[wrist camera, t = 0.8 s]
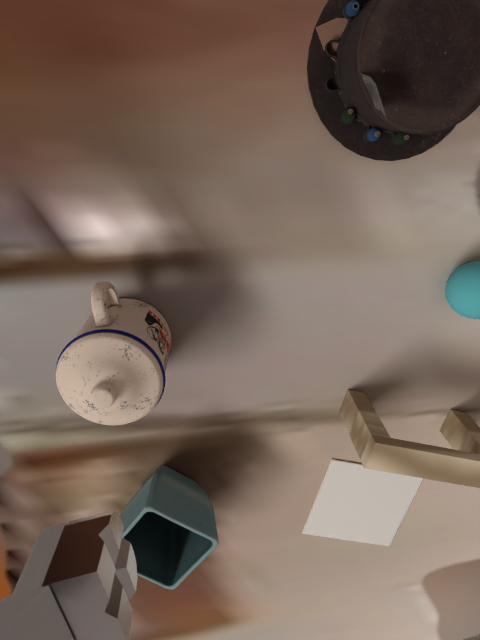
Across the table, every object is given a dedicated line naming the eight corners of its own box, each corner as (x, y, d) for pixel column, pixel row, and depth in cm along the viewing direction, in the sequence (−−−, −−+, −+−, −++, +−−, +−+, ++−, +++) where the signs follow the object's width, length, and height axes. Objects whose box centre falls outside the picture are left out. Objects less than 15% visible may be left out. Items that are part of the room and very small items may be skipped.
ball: (448, 248, 43) (479, 264, 38) (499, 261, 44) (535, 277, 39) (426, 300, 45) (453, 321, 40) (475, 311, 46) (506, 333, 41)
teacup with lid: (180, 370, 47) (169, 439, 36) (95, 380, 47) (59, 452, 36) (160, 260, 43) (141, 303, 32) (66, 272, 43) (14, 318, 32)
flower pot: (179, 524, 56) (172, 593, 47) (117, 494, 53) (99, 560, 45) (220, 479, 53) (221, 543, 45) (158, 445, 51) (146, 505, 43)
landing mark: (331, 458, 53) (332, 460, 52) (424, 474, 54) (424, 475, 54) (302, 532, 57) (302, 533, 57) (388, 544, 59) (389, 546, 58)
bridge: (347, 389, 49) (375, 442, 41) (466, 412, 51) (515, 467, 43) (339, 411, 50) (364, 468, 42) (455, 433, 52) (501, 491, 44)
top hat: (354, -82, 33) (410, -169, 24) (519, 4, 36) (629, -44, 26) (279, 122, 39) (299, 119, 29) (428, 184, 41) (492, 199, 32)
